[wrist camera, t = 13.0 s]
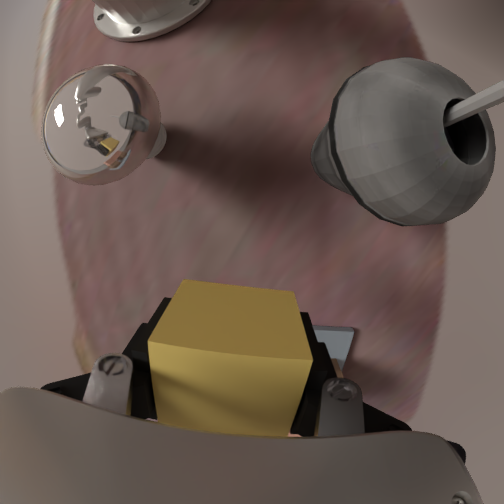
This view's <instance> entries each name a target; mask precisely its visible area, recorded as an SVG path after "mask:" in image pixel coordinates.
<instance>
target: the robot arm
mask: <svg viewBox="0 0 504 504" xmlns="http://www.w3.org/2000/svg"><path fill="white" fill-rule="evenodd" d="M92 1H93V2H94V3H95V8H94V16H93V17H94V22H95V25H96V26H97V28H98V29H99V30H100V31H101V32H102V33H103V34H104V35H106V36H107V37H109V38H111V39H114V40H118V41H126V42H132V41H142V40H146V39H150V38H154V37H157V36H160V35H162V34H165V33H168V32H170V31H172V30H174V29H176V28H178V27H180V26H181V25H183V24H185V23H186V22H188V21H190V20H191V19H192V18H194V17H195V16H196V15H197V14H199V13H200V12H201V11H202V10H203V9H204V8H205V7H206V6H207V5H208V4H209V2H210V1H211V0H92ZM171 300H172V298H166V297H165V298H164V299H163V300H162V302H161V304H160V305H159V307H158V308H157V310H156V311H155V313H154V314H153V316H152V318H151V319H150V321H149V322H148V324H147V323H142V324H141V325H140V327H139V328H138V330H137V331H136V333H135V334H134V336H133V337H132V339H131V340H130V342H129V343H128V345H127V347H126V348H125V350H124V351H123V353H122V354H119V353H109V354H105V355H103V356H100V357H99V358H98V359H97V360H96V361H95V363H94V366H93V369H92V372H91V373H88V374H84V375H80V376H76V377H73V378H69V379H65V380H61V381H57V382H53V383H50V384H47V385H45V386H43V387H42V388H41V389H38V388H30V387H11V388H8V389H5V390H3V391H1V392H0V504H484V503H483V501H482V499H481V496H480V494H479V492H478V489H477V487H476V485H475V483H474V481H473V479H472V477H471V475H470V473H469V471H468V470H467V468H466V466H465V462H466V452H465V450H464V448H463V447H462V446H460V444H457V443H454V442H451V441H447V440H445V439H444V438H442V437H440V436H438V435H435V434H432V433H427V432H419V431H412V429H411V428H410V427H409V426H408V425H407V424H406V423H404V422H402V421H400V420H398V419H396V418H394V417H392V416H390V415H388V414H386V413H384V412H382V411H380V410H378V409H376V408H374V407H372V406H370V405H368V404H366V403H364V402H363V401H362V392H361V389H360V387H359V386H358V385H357V384H356V383H355V382H353V381H351V380H349V379H346V378H338V377H337V374H336V372H335V369H334V366H333V363H332V360H331V358H330V355H329V352H328V349H327V347H326V344H325V343H324V342H318V341H317V338H316V335H315V332H314V329H313V326H312V323H311V320H310V317H309V314H308V313H307V312H300V315H301V319H302V322H303V326H304V329H305V333H306V336H307V340H308V343H309V347H310V351H311V354H312V358H313V362H312V365H311V369H310V372H309V375H308V378H307V381H306V385H305V388H304V391H303V394H302V397H301V400H300V403H299V406H298V409H297V412H296V414H295V417H294V420H293V423H292V426H291V428H290V434H298V435H300V436H302V437H280V436H256V435H242V434H231V433H221V432H213V431H205V430H198V429H192V428H185V427H180V426H174V425H169V424H164V423H159V422H154V421H150V420H145V419H147V418H151V419H156V420H157V412H156V405H155V399H154V392H153V385H152V377H151V369H150V360H149V351H148V339H149V338H150V336H151V334H152V332H153V330H154V329H155V327H156V325H157V323H158V322H159V320H160V318H161V317H162V315H163V313H164V311H165V310H166V308H167V306H168V305H169V303H170V301H171Z"/></svg>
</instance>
